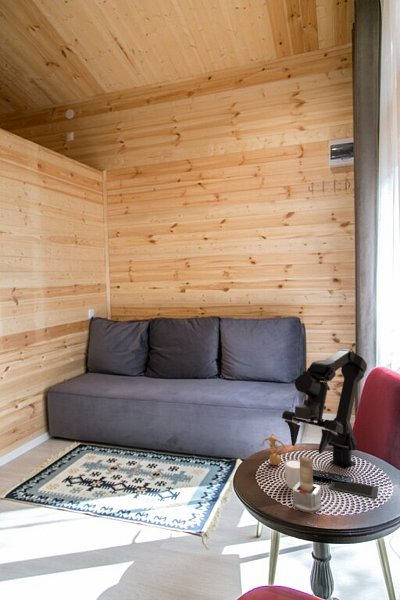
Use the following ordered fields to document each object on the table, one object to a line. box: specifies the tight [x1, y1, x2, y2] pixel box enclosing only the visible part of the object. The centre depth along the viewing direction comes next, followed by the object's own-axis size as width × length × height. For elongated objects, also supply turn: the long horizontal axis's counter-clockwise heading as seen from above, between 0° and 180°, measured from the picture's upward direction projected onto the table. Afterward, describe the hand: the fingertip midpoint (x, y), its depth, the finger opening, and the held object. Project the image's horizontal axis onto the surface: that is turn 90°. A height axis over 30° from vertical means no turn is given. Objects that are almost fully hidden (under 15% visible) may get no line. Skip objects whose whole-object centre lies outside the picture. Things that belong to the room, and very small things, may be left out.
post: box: [299, 456, 314, 493], centre depth 120 cm, size 4×4×12 cm
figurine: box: [261, 433, 286, 466], centre depth 146 cm, size 8×6×12 cm
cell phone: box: [328, 481, 379, 500], centre depth 128 cm, size 7×14×1 cm, turn 61°
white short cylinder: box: [283, 459, 300, 490], centre depth 132 cm, size 7×7×7 cm
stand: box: [292, 482, 322, 513], centre depth 120 cm, size 8×8×5 cm
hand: (306, 449), depth 127 cm, fingers open, 9 cm apart
